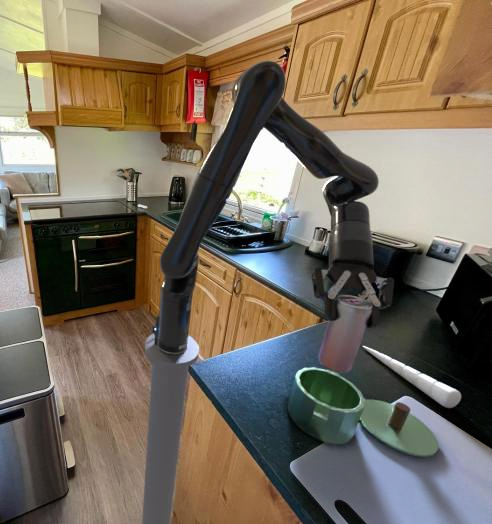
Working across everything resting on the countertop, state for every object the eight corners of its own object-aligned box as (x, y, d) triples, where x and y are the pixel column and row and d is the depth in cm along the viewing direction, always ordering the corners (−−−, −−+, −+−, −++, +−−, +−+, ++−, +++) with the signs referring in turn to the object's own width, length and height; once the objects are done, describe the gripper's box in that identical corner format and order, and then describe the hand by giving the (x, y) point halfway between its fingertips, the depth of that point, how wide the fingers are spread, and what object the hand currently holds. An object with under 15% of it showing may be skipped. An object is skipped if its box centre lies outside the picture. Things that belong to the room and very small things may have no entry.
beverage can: (311, 354, 63) (329, 293, 58) (339, 356, 63) (359, 294, 58) (327, 374, 57) (348, 307, 52) (357, 375, 57) (381, 309, 52)
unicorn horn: (373, 346, 90) (378, 333, 89) (459, 408, 68) (467, 393, 67) (359, 347, 90) (364, 334, 88) (441, 410, 68) (450, 394, 66)
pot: (277, 428, 61) (285, 396, 58) (297, 382, 75) (305, 354, 72) (347, 467, 54) (361, 434, 51) (356, 408, 67) (367, 379, 64)
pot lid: (352, 430, 61) (361, 408, 59) (358, 394, 71) (365, 374, 69) (440, 473, 53) (453, 450, 51) (432, 425, 63) (443, 404, 61)
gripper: (317, 234, 60) (315, 310, 54) (401, 242, 56) (409, 326, 49) (307, 251, 67) (303, 320, 60) (381, 260, 62) (386, 336, 56)
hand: (351, 323), depth 55 cm, fingers closed on beverage can, 6 cm apart
